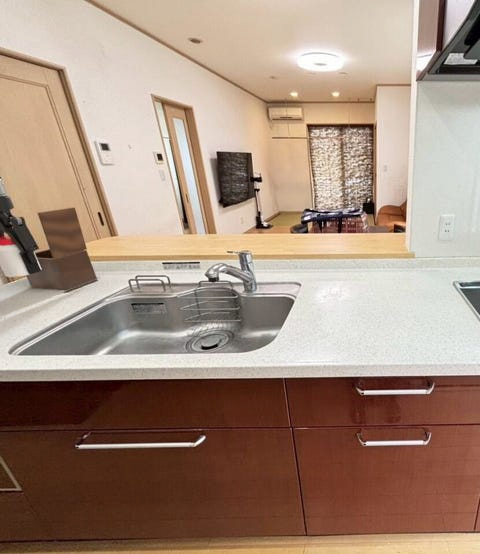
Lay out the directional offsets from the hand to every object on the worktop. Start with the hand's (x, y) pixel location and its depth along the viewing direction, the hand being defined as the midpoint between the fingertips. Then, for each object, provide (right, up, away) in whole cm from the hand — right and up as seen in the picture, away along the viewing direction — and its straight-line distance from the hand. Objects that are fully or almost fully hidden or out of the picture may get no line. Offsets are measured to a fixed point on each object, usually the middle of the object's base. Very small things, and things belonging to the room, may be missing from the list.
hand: (23, 271), depth 91 cm
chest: (-14, -5, +27) cm, 31 cm away
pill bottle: (0, 0, 0) cm, 0 cm away
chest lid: (-6, +15, +18) cm, 24 cm away
